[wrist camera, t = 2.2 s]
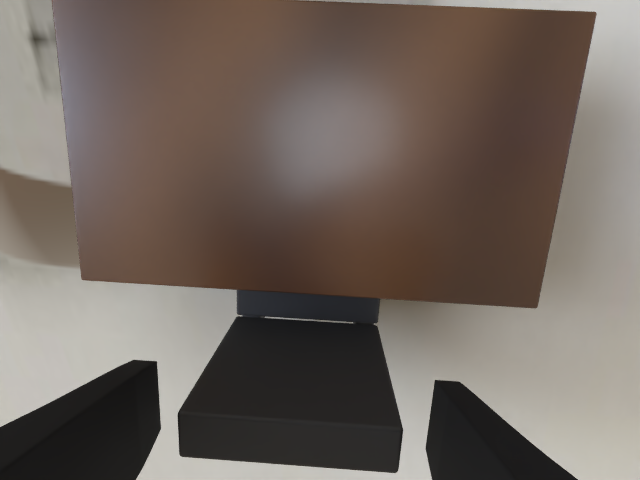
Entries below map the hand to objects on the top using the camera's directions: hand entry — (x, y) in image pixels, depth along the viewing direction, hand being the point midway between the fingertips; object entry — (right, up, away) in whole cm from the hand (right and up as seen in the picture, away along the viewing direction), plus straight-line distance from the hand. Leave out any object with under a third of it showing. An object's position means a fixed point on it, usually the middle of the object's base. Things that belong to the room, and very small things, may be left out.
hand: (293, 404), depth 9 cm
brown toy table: (+1, +7, +5) cm, 9 cm away
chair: (0, +5, +6) cm, 7 cm away
